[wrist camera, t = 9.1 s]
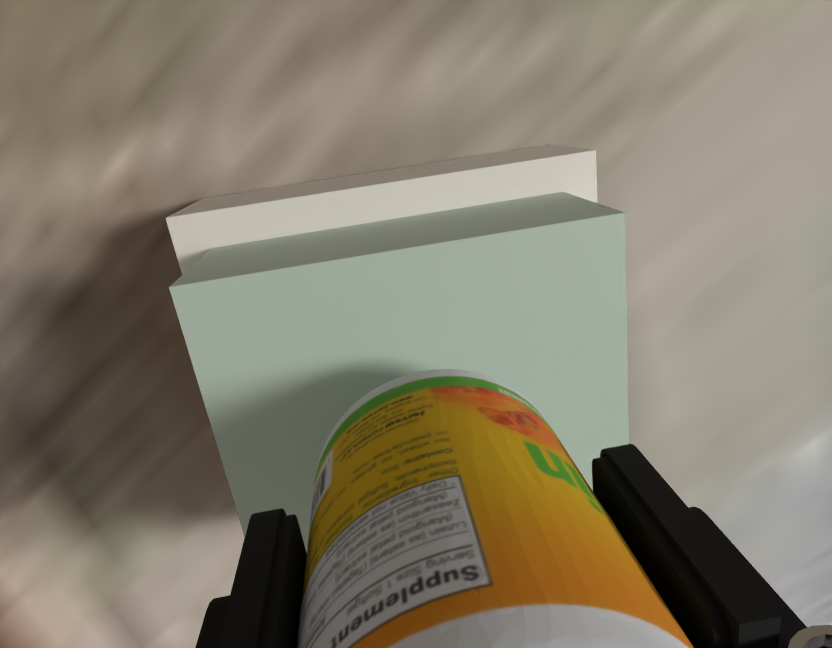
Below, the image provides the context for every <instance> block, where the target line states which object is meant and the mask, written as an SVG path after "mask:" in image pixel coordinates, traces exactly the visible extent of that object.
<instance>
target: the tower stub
mask: <svg viewBox="0 0 832 648" xmlns="http://www.w3.org/2000/svg"><path fill="white" fill-rule="evenodd" d="M166 221H167V225H168V228H169V232H170V235H171V239H172V242H173V245H174V249H175V252H176V256H177V259H178V262H179V266H180V269H181V273H182V276H181V277H179V278H178V279H177V280H176V281H175V282H174V283H173V284H172V285H171V286H170V287H169V289H170V292H171V296H172V299H173V302H174V306H175V309H176V312H177V315H178V319H179V322H180V325H181V329H182V332H183V335H184V338H185V342H186V345H187V348H188V352H189V355H190V358H191V362H192V365H193V368H194V371H195V375H196V378H197V381H198V385H199V388H200V391H201V394H202V398H203V401H204V404H205V408H206V411H207V414H208V418H209V421H210V424H211V427H212V431H213V434H214V437H215V441H216V444H217V447H218V450H219V454H220V457H221V460H222V464H223V467H224V470H225V474H226V477H227V480H228V483H229V487H230V490H231V493H232V497H233V500H234V503H235V506H236V510H237V513H238V516H239V520H240V523H241V526H242V530H243V533H244V536H245V535H246V531H247V527H248V523H249V519H250V517H251V515H252V514H253V513H258V512H264V511H269V510H275V509H280V508H283V509H284V510H285V512H286V515H292V514H295V515H296V516H297V519H298V523H299V526H300V530H301V534H302V538H303V542H304V545H305V549H306V553H307V548H308V537H309V527H310V518H311V507H312V497H313V489H314V481H315V477H316V471H317V466H318V462H319V458H320V455H321V453H322V450H323V447H324V445H325V443H326V441H327V439H328V437H329V435H330V433H331V432H332V430H333V428H334V427H335V425H336V424H337V423H338V421H339V420H340V419H341V417H342V416H343V415H344V414H345V413H346V412H347V411H348V409H349V408H350V407H352V406H353V405H354V404H355V403H356V402H357V401H358V400H360V399H361V398H362V397H363V396H365V395H366V394H368V393H369V392H371V391H372V390H374V389H376V388H378V387H380V386H381V385H383V384H385V383H387V382H390V381H392V380H394V379H397V378H399V377H402V376H406V375H409V374H412V373H416V372H421V371H427V370H436V369H457V370H466V371H472V372H476V373H480V374H484V375H487V376H490V377H493V378H495V379H497V380H500V381H502V382H504V383H506V384H507V385H509V386H511V387H513V388H514V389H516V390H517V391H519V392H520V393H521V394H522V395H524V396H525V397H526V398H527V399H529V400H530V401H531V402H532V403H533V404H534V406H535V407H536V408H537V409H538V410H539V411H540V413H541V414H542V415H543V416H544V418H545V419H546V421H547V422H548V423H549V425H550V426H551V428H552V429H553V431H554V432H555V434H556V435H557V437H558V438H559V440H560V441H561V443H562V445H563V446H564V448H565V449H566V451H567V452H568V454H569V455H570V457H571V458H572V460H573V462H574V463H575V465H576V466H577V468H578V469H579V471H580V472H581V474H582V475H583V477H584V478H585V480H586V482H587V483H588V485H589V486H590V488H591V489H592V491H593V484H592V460H593V459H594V458H600V452H601V450H602V449H605V448H610V447H616V446H621V445H627V444H629V429H628V366H627V302H626V238H625V212H622V211H619V210H616V209H613V208H610V207H607V206H604V205H601V204H598V203H597V175H596V150H591V149H582V148H574V147H566V146H558V145H544V146H537V147H531V148H525V149H518V150H512V151H505V152H499V153H493V154H486V155H480V156H473V157H467V158H461V159H454V160H448V161H441V162H435V163H429V164H422V165H416V166H409V167H403V168H397V169H390V170H384V171H377V172H371V173H365V174H358V175H352V176H345V177H339V178H333V179H326V180H320V181H313V182H307V183H301V184H294V185H288V186H281V187H275V188H269V189H262V190H256V191H249V192H243V193H237V194H230V195H224V196H217V197H211V198H205V199H201V200H199V201H197V202H195V203H193V204H191V205H189V206H187V207H185V208H183V209H181V210H180V211H178V212H176V213H174V214H172V215H170V216H168V217H166Z"/></svg>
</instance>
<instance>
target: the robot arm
mask: <svg viewBox="0 0 832 648" xmlns="http://www.w3.org/2000/svg"><path fill="white" fill-rule="evenodd" d="M592 484H593V492H594V494H595V495H596V497H597V499H598V500H599V502H600V503H601V505H602V506H603V508H604V509H605V510H606V512H607V513H608V515H609V516H610V518H611V519H612V521H613V523H614V524H615V526H616V528H617V529H618V531H619V532H620V534H621V535H622V537H623V539H624V540H625V542H626V543H627V545H628V546H629V548H630V549H631V551H632V553H633V554H634V556H635V557H636V559H637V560H638V562H639V563H640V565H641V566H642V568H643V569H644V571H645V573H646V574H647V576H648V577H649V579H650V580H651V582H652V584H653V585H654V587H655V588H656V590H657V591H658V593H659V595H660V596H661V598H662V599H663V601H664V602H665V604H666V605H667V607H668V609H669V610H670V612H671V613H672V615H673V616H674V618H675V619H676V621H677V622H678V624H679V626H680V627H681V629H682V630H683V632H684V633H685V635H686V636H687V638H688V639H689V641H690V643H691V644H692V646H693V647H694V648H832V625H819V626H810V627H808V628H807V627H806V626H805V624H804V623H803V622H802V621H801V620H800V619H799V618H798V617H797V616H796V614H795V613H794V612H793V611H792V610H791V609H790V608H789V607H788V605H787V604H786V603H785V602H784V601H783V600H782V599H781V598H780V596H779V595H778V594H777V593H776V592H775V591H774V590H773V589H772V587H771V586H770V585H769V584H768V583H767V582H766V581H765V580H764V578H763V577H762V576H761V575H760V574H759V573H758V572H757V571H756V569H755V568H754V567H753V566H752V565H751V564H750V563H749V562H748V560H747V559H746V558H745V557H744V556H743V555H742V554H741V553H740V552H739V550H738V549H737V548H736V547H735V546H734V545H733V544H732V543H731V541H730V540H729V539H728V538H727V537H726V536H725V535H724V534H723V532H722V531H721V530H720V529H719V528H718V527H717V526H716V525H715V523H714V522H713V521H712V520H711V519H710V518H709V517H708V516H707V515H706V514H705V513H704V512H703V511H702V510H701V509H699V508H697V507H690V508H688V507H687V506H686V505H685V503H684V502H683V501H682V500H681V499H680V498H679V496H678V495H677V494H676V493H675V492H674V491H673V489H672V488H671V487H670V486H669V485H668V484H667V482H666V481H665V480H664V479H663V478H662V477H661V475H660V474H659V473H658V472H657V471H656V470H655V468H654V467H653V466H652V465H651V464H650V463H649V461H648V460H647V459H646V458H645V457H644V456H643V454H642V453H641V452H640V451H639V450H638V449H637V447H635V446H634V445H633V444H627V445H621V446H616V447H610V448H605V449H602V450H601V452H600V458H594V459H593V460H592ZM306 557H307V553H306V549H305V545H304V542H303V538H302V534H301V530H300V526H299V523H298V519H297V516H296V515H295V514H292V515H286V512H285V510H284V509H283V508H280V509H275V510H269V511H264V512H258V513H253V514H252V515H251V517H250V519H249V523H248V527H247V531H246V535H245V539H244V543H243V547H242V551H241V555H240V559H239V563H238V567H237V571H236V575H235V579H234V583H233V587H232V591H231V595H230V596H225V597H220V598H215V599H213V600H212V601H211V602H210V603H209V606H208V608H207V611H206V614H205V617H204V621H203V624H202V628H201V631H200V634H199V638H198V641H197V645H196V648H297V644H298V632H299V619H300V611H301V604H302V596H303V587H304V577H305V567H306Z"/></svg>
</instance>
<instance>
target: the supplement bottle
mask: <svg viewBox="0 0 832 648" xmlns="http://www.w3.org/2000/svg"><path fill="white" fill-rule="evenodd" d="M297 648H694V647H693V646H692V644H691V643H690V641H689V639H688V638H687V636H686V635H685V633H684V632H683V630H682V629H681V627H680V626H679V624H678V622H677V621H676V619H675V618H674V616H673V615H672V613H671V612H670V610H669V609H668V607H667V605H666V604H665V602H664V601H663V599H662V598H661V596H660V595H659V593H658V591H657V590H656V588H655V587H654V585H653V584H652V582H651V580H650V579H649V577H648V576H647V574H646V573H645V571H644V569H643V568H642V566H641V565H640V563H639V562H638V560H637V559H636V557H635V556H634V554H633V553H632V551H631V549H630V548H629V546H628V545H627V543H626V542H625V540H624V539H623V537H622V535H621V534H620V532H619V531H618V529H617V528H616V526H615V524H614V523H613V521H612V519H611V518H610V516H609V515H608V513H607V512H606V510H605V509H604V508H603V506H602V505H601V503H600V502H599V500H598V499H597V497H596V495H595V494H594V492H593V491H592V489H591V488H590V486H589V485H588V483H587V482H586V480H585V478H584V477H583V475H582V474H581V472H580V471H579V469H578V468H577V466H576V465H575V463H574V462H573V460H572V458H571V457H570V455H569V454H568V452H567V451H566V449H565V448H564V446H563V445H562V443H561V441H560V440H559V438H558V437H557V435H556V434H555V432H554V431H553V429H552V428H551V426H550V425H549V423H548V422H547V421H546V419H545V418H544V416H543V415H542V414H541V413H540V411H539V410H538V409H537V408H536V407H535V406H534V404H533V403H532V402H531V401H530V400H529V399H527V398H526V397H525V396H524V395H522V394H521V393H520V392H519V391H517V390H516V389H514V388H513V387H511V386H509V385H507V384H506V383H504V382H502V381H500V380H497V379H495V378H493V377H490V376H487V375H484V374H480V373H476V372H472V371H466V370H457V369H436V370H427V371H421V372H416V373H412V374H409V375H406V376H402V377H399V378H397V379H394V380H392V381H390V382H387V383H385V384H383V385H381V386H380V387H378V388H376V389H374V390H372V391H371V392H369V393H368V394H366V395H365V396H363V397H362V398H361V399H360V400H358V401H357V402H356V403H355V404H354V405H353V406H352V407H350V408H349V409H348V411H347V412H346V413H345V414H344V415H343V416H342V417H341V419H340V420H339V421H338V423H337V424H336V425H335V427H334V428H333V430H332V432H331V433H330V435H329V437H328V439H327V441H326V443H325V445H324V447H323V450H322V453H321V455H320V458H319V462H318V466H317V471H316V477H315V481H314V489H313V497H312V507H311V518H310V527H309V537H308V548H307V557H306V567H305V577H304V587H303V596H302V604H301V611H300V619H299V632H298V644H297Z"/></svg>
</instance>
